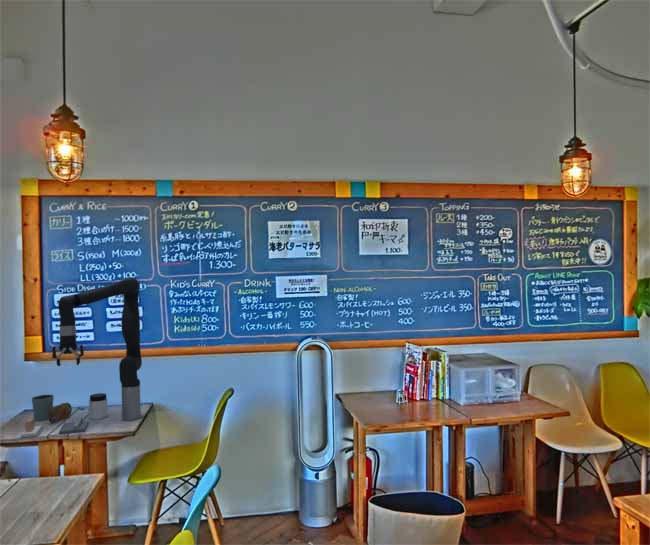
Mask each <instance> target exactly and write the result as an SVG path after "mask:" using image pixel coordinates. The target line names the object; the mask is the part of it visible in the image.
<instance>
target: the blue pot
mask: <svg viewBox="0 0 650 545" xmlns="http://www.w3.org/2000/svg"><path fill="white" fill-rule="evenodd" d="M31 404H32V411H33V412H32V413H33V418H34V420H35V421H34V422H45V420H46V421H49V420H48V411H49V409H50V408H51V407H54V394H40V395H36V396H33V397H31Z"/></svg>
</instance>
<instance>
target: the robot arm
mask: <svg viewBox="0 0 650 545" xmlns="http://www.w3.org/2000/svg"><path fill="white" fill-rule="evenodd" d="M140 287H141V286H140V282H139V280H138V279H137V278H136V277H131V276H127V277H124V278H123V279H121V280H118V281H117V282H115V283H112V284H109V285H104V286H100V287H96V288H91V289H87V290H83V291H81V292H78V293H74V294H69V295H64V296H62V297H61V298H59V300H58V303H57V304H58V305H57V306H58V312H59V346H56V345H54V346H53V347H52V356H51V358H52V359H56V365H57V367H61V357H62V355H71V354H73V355H74V356H75V357H76V359H75V360H76V366H79V364H80V363H81V357H83V356H85V351H84V345H83V344H77V329H76V317H75V314H74V308H79V307H81V306H84V305H85V306H86V305H90V304H93V303H97V302H100V301H102V300H105V299H109V298H112V297H116V296H117V297H118V296H123V306H122V314H121V321H120V322H121V334H122V337H123V339H124V342H125V347H126V351H125V352H126V354H125V357H123V358H122V359H121V360H120V362H119V367H118V371H119V381H120V385H121V386H120V387H121V420H122V419H123V421H134V420H138V419H141V416H142V413H141V410H142V409H141V406H142V405H141V402H142V401H141V380H140V379H139V378H138V371H139V369H141V367H142V363H143V362H142V360H143V359H142V353H141V344H140V343H141V320H140V309H139V294H140ZM77 348H78V349H79V352H80V354H79V352H78V351H77V350H76V349H77ZM58 349H59V351H60V352H59V354H58V355H57V351H58Z"/></svg>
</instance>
